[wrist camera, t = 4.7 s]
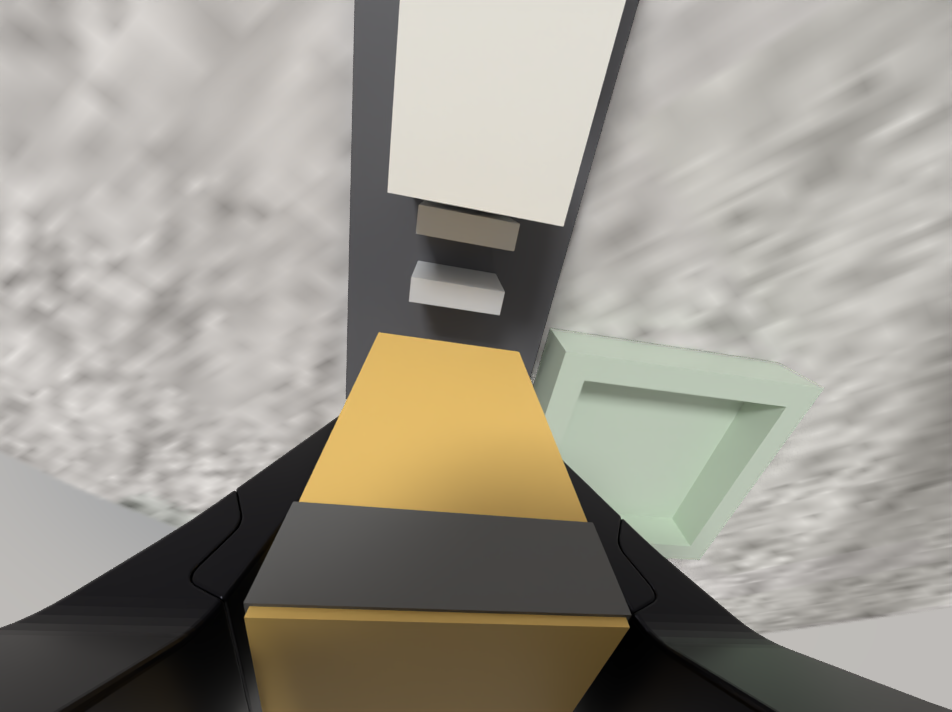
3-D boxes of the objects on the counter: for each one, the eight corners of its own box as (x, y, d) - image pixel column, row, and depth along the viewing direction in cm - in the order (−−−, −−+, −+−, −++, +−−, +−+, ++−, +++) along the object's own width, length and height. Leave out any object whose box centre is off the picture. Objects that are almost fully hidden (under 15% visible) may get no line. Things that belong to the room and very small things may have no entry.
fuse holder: (717, -347, 8) (911, -729, 5) (513, 400, 18) (528, 454, 14) (383, -503, 7) (321, -1141, 4) (354, 381, 17) (328, 435, 13)
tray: (778, 362, 18) (824, 388, 16) (675, 523, 23) (699, 560, 21) (550, 328, 16) (566, 351, 14) (495, 510, 22) (501, 548, 19)
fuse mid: (553, 72, 11) (627, -4, 6) (523, 210, 12) (563, 226, 8) (424, 39, 10) (404, -70, 6) (410, 187, 12) (387, 192, 7)
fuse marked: (521, 350, 10) (636, 626, 4) (492, 457, 12) (539, 764, 6) (376, 330, 10) (237, 614, 3) (369, 445, 11) (270, 773, 5)
